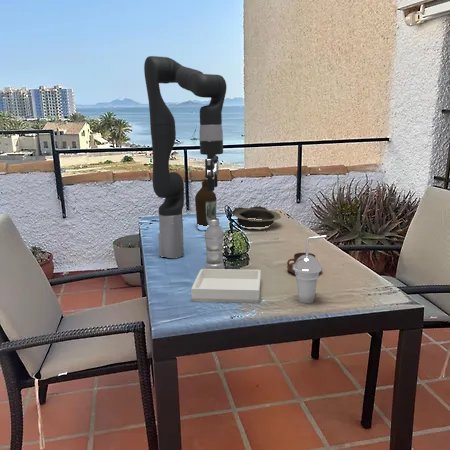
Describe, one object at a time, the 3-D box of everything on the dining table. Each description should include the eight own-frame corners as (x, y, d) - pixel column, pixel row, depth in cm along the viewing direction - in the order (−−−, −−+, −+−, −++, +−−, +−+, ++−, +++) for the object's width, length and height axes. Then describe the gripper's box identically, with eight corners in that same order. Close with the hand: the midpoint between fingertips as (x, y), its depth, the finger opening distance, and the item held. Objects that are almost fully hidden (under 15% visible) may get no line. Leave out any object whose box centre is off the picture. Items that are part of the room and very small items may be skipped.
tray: (191, 301, 128) (191, 288, 127) (201, 280, 145) (200, 268, 144) (259, 303, 126) (259, 290, 125) (260, 281, 143) (260, 269, 142)
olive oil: (191, 229, 217) (189, 179, 211) (207, 225, 224) (206, 177, 218) (205, 232, 209) (204, 181, 203) (221, 228, 216) (220, 179, 211)
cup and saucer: (300, 280, 143) (301, 263, 142) (280, 270, 154) (280, 253, 152) (328, 274, 149) (329, 257, 147) (307, 264, 159) (307, 248, 158)
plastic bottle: (204, 272, 152) (203, 217, 148) (223, 271, 153) (222, 216, 148) (205, 278, 146) (203, 221, 142) (225, 277, 147) (224, 220, 142)
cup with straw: (300, 292, 133) (302, 229, 128) (327, 299, 127) (330, 233, 123) (286, 301, 127) (287, 235, 122) (313, 308, 121) (315, 240, 116)
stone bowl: (234, 220, 232) (235, 204, 230) (280, 224, 229) (281, 208, 227) (228, 231, 209) (229, 212, 207) (279, 235, 206) (281, 217, 204)
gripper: (203, 138, 146) (204, 186, 150) (196, 140, 133) (197, 192, 136) (225, 138, 146) (226, 185, 149) (220, 139, 132) (221, 192, 135)
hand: (212, 189), depth 143 cm, fingers open, 8 cm apart
